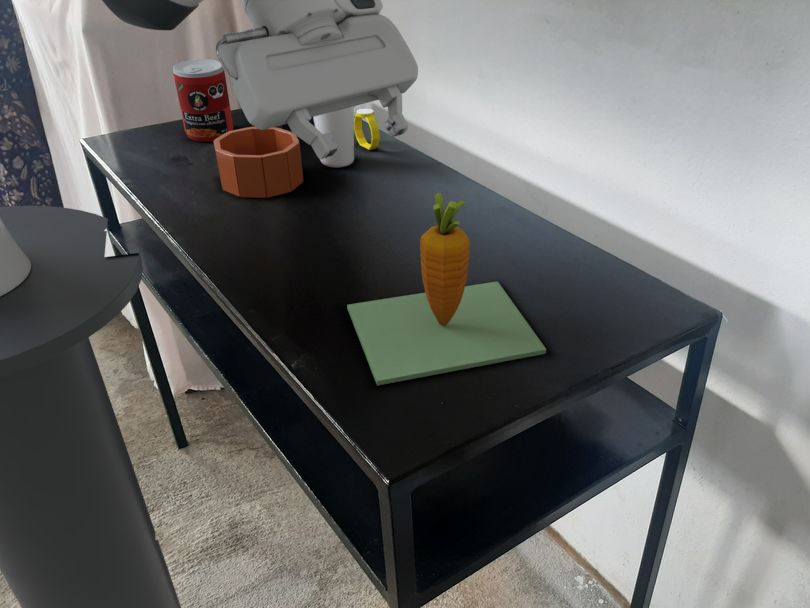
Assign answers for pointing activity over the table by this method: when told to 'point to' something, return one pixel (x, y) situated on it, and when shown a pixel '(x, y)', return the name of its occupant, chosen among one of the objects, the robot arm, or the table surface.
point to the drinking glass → (338, 135)
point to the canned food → (203, 99)
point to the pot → (259, 162)
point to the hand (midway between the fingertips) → (366, 143)
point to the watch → (373, 126)
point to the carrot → (444, 261)
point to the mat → (441, 334)
